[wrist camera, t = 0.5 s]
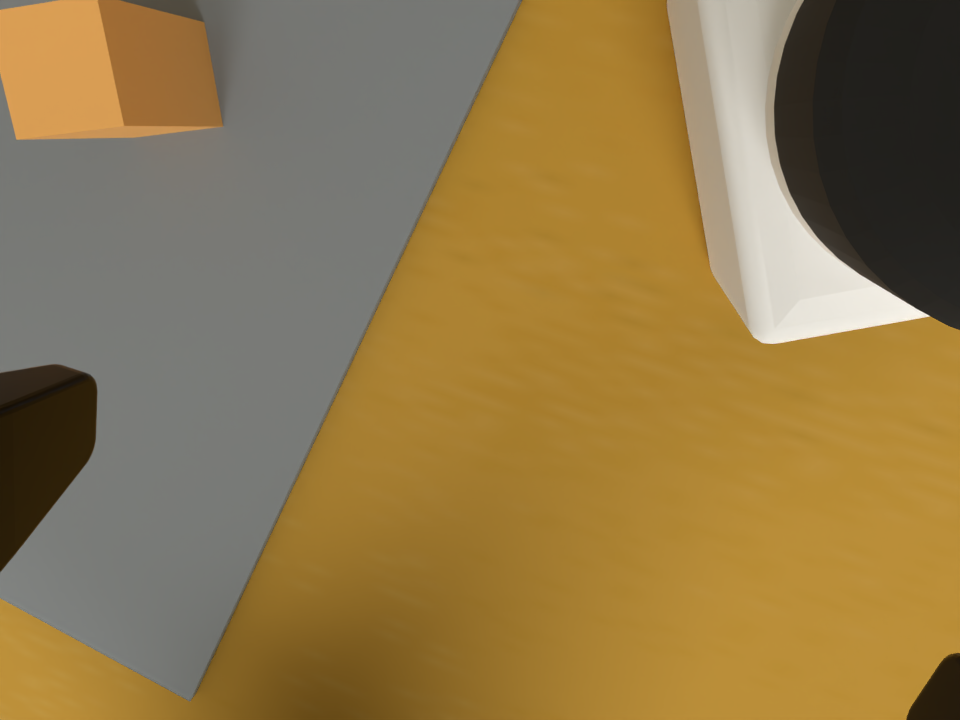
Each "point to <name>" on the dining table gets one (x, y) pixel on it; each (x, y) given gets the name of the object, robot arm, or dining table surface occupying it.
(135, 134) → the orange block
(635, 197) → the dining table surface
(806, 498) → the dining table surface
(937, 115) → the medicine bottle
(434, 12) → the mat
